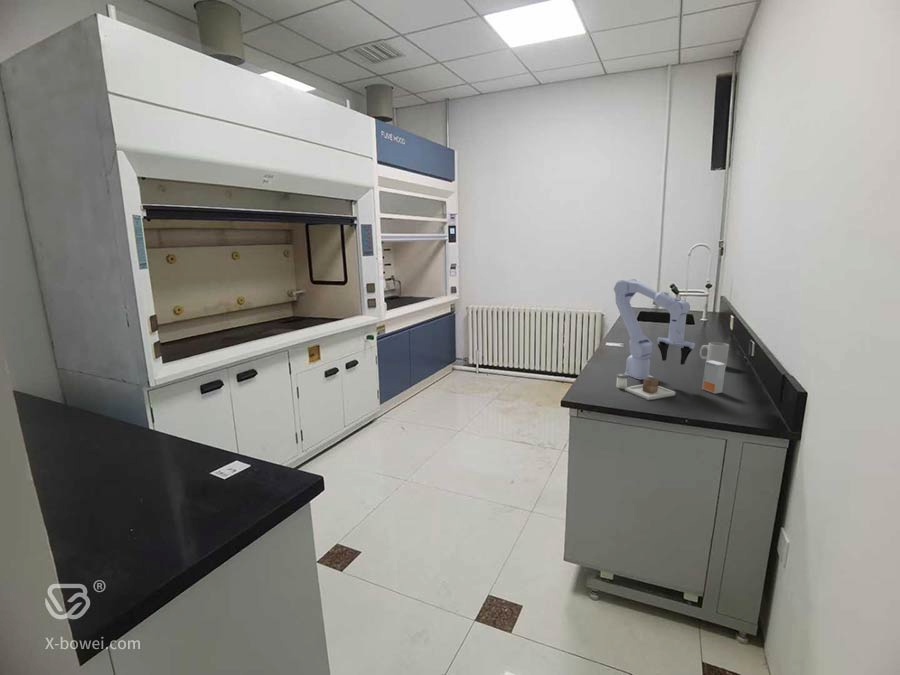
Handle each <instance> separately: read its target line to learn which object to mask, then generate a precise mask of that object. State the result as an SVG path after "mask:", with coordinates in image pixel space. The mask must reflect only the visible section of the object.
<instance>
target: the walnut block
mask: <svg viewBox="0 0 900 675" xmlns="http://www.w3.org/2000/svg"><path fill="white" fill-rule="evenodd" d="M642 382H643V383H642V384H643V391H644V392H648V393H651V394H653V393H655V392H657V391H658V386H659V379H657V378H654V377H653V378H650V377H648V378H645V379H643V381H642Z"/></svg>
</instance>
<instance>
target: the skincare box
mask: <svg viewBox="0 0 900 675" xmlns="http://www.w3.org/2000/svg"><path fill="white" fill-rule="evenodd" d="M725 367H726V368H727V366H726V364H724V363H721V362H717V361H713V360H711V361H706V360H705V364H704V369H703V370H704V372H703V379H702V384H701V385H702V386H701V389H702V390H704V391H707V392H709V393H712V394H721V393H723V388H724V379H725V374H726V373H725V372H726V368H725Z"/></svg>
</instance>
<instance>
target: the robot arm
mask: <svg viewBox="0 0 900 675" xmlns="http://www.w3.org/2000/svg"><path fill="white" fill-rule="evenodd" d="M613 291H614V294H615V305H616V307H617V309H618V311H619V314H620V316H621V318H622V321H623V323H624V325H625V327H626V330H627V333H628V336H629V337H630V339H629V342H628V345H629V353H630V355H629V356H628V357H627V358H626V361H625V362H626V363H625V364H626V365H625V372H624V373H623V374H626V375H628V377H631V378H634V379H636V380H637V379H638V380H644V379H645V378H646V377H652V378H654V376H652V375H650V365H651V357H652V354H654V352H655V345H654V343H653V342H652V341H651V340H650V339H649V337H648V336H647V335H646V334H644V332H643V330H642V327H641V326H640V323H639V321H638V319H637V316H636V314H635V311H634V310H633V307H632V304H631V301H632V298H633V297H634V295H636V293H638V294H641V295H643V296H645V297H647V298H650V299H652V300H654V301H653V302H654V304H655V305H657V306H659V307H661V308H663V309H665V310H667V311H668V313H669V325H668V326H669V327H668V334H667V337H657V338H656V343H658V344H657V347H658V349H659V352H660V354H661V360H662V362H665V361H666V360H667V358H668V349H669V347H670V345H671V346H676V347H681V348H680V355H681V357H680V365H683V366H684V365H685V364H686V361H687V358H689V355H690V353H691V352H692V351H693V349H695V346H696V343H694V342H690V341H686V340H684V339H685V333H686V332H685V330H686V324H687V314H688V313H689V312H690V309H691V305H690V303H689V302H687V300H685V299H681V300H680V299H679V298H678V297H674V296H672V295H671V294H669V292H668V291H660V292H659V291H656V290H655V289H653V288H651V287H650V286H648V285H646V284H645V283H643V282H642V281H640V280H637V279H636V278H631V279H624V280H623V279H619V280H617V281H616V283H615V285H614V286H613Z"/></svg>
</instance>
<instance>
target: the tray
mask: <svg viewBox="0 0 900 675" xmlns="http://www.w3.org/2000/svg"><path fill="white" fill-rule="evenodd" d="M624 391H625V392H627V393H630V394H632V395H634V396H637V397H639V398H642V399H643V400H646V401H651V400H657V399H663V398H668V397H674V396H676V391H675V390H672V389H669V388H666V387H663V386H661V385H658V391H657V392H655V393H653V394H651V393H648V392H644V391H643V383H642V384H636V385H631V386H627V387H625V389H624Z"/></svg>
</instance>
